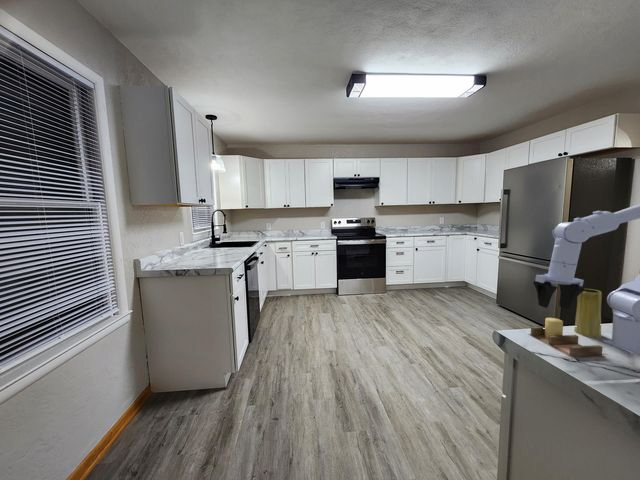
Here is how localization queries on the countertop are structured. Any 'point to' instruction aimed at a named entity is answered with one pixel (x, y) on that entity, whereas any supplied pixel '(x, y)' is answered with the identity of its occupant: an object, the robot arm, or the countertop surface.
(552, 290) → the robot arm
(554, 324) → the peg
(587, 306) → the vase
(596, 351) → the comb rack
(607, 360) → the countertop surface
